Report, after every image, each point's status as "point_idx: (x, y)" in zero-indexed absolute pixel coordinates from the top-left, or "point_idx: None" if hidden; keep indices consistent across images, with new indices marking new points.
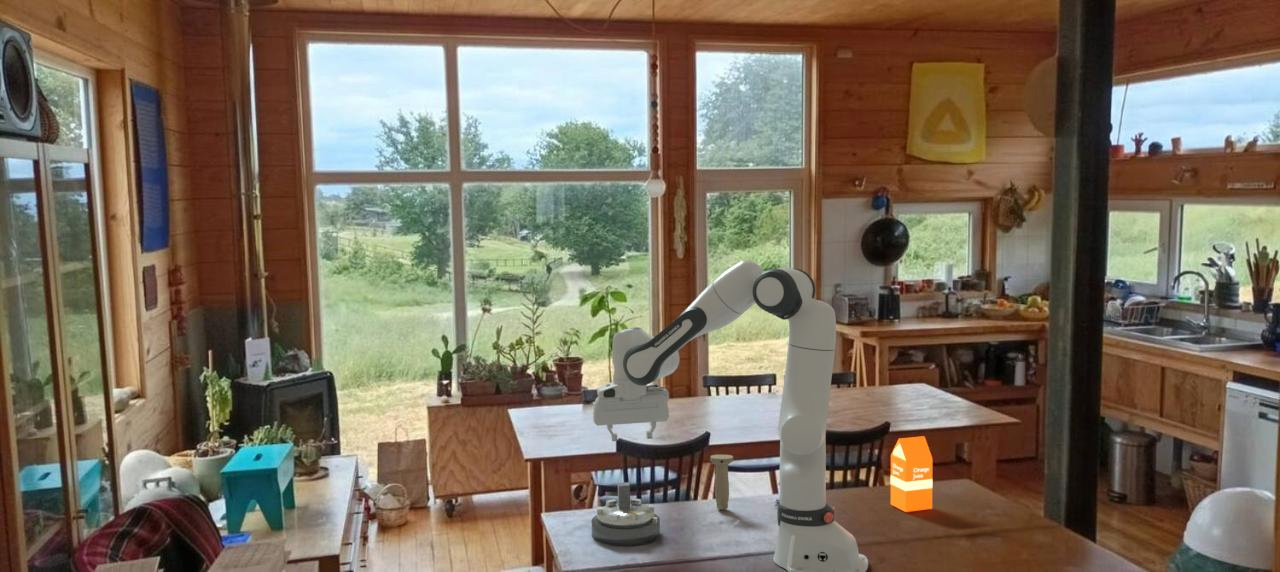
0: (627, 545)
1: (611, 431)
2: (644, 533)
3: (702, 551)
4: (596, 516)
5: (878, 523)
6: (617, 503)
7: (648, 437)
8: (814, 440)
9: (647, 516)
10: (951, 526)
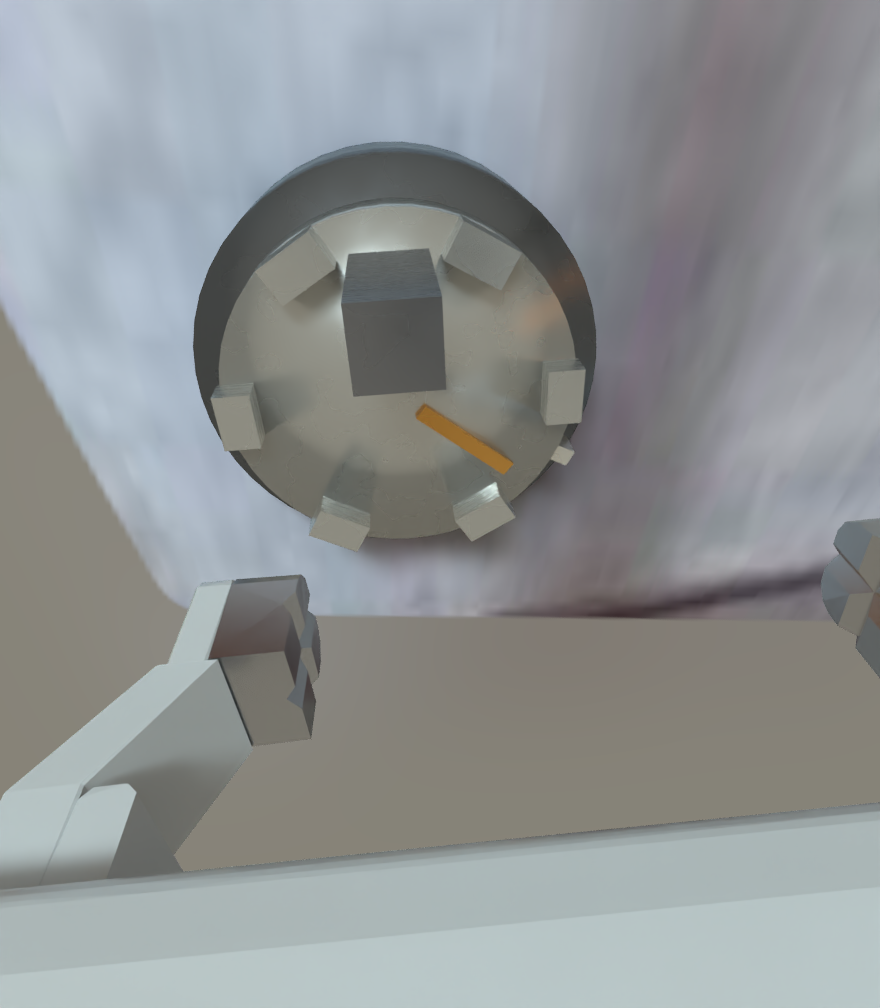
0: None
1: (184, 821)
2: None
3: (693, 543)
4: (212, 300)
5: None
6: (341, 222)
7: (851, 617)
8: None
9: (521, 487)
10: None
